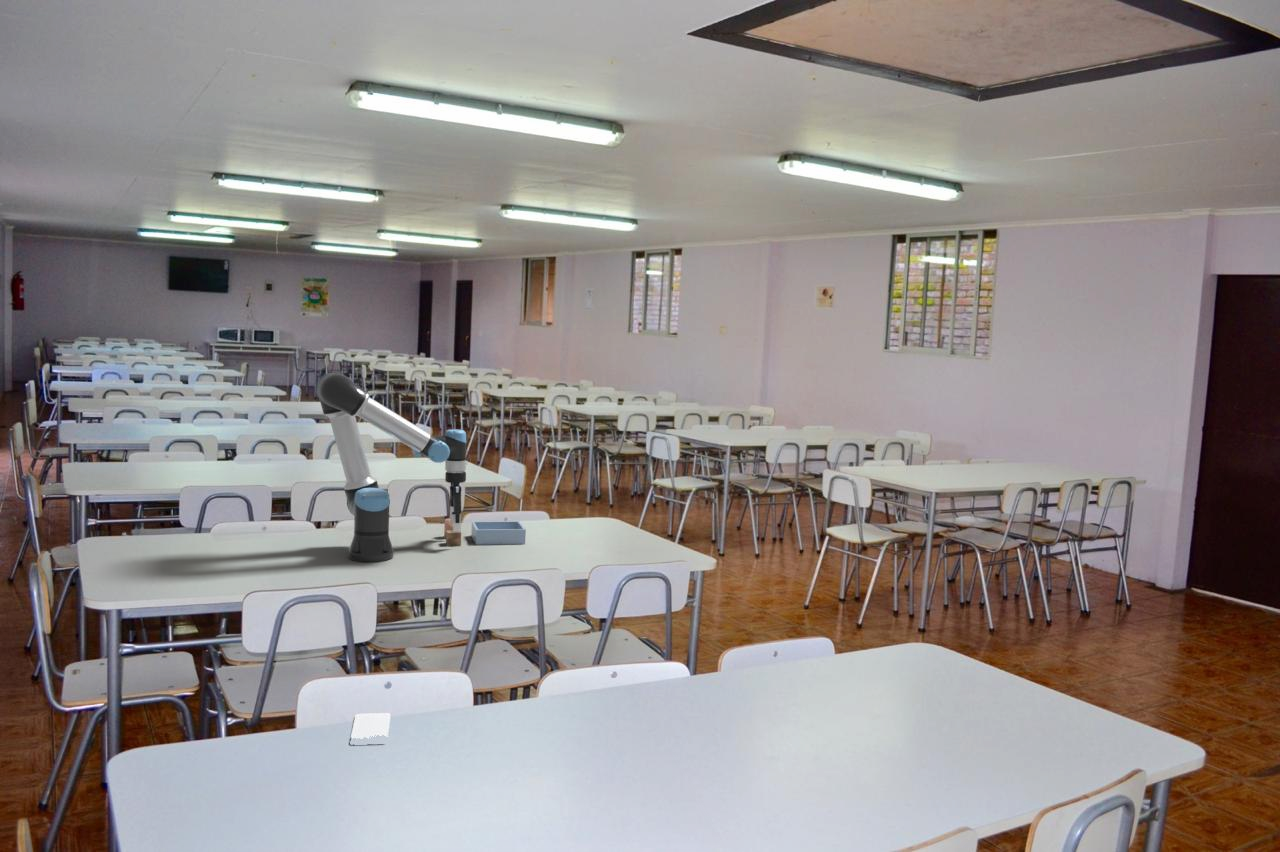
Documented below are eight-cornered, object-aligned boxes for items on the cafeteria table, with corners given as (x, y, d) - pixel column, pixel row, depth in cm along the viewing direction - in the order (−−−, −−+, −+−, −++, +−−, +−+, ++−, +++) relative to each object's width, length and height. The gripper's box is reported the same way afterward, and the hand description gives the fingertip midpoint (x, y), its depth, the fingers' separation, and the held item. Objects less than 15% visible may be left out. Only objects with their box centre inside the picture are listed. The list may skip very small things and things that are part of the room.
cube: (447, 546, 367) (447, 533, 367) (446, 543, 372) (446, 530, 372) (460, 546, 369) (461, 532, 368) (459, 543, 374) (459, 530, 373)
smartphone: (348, 744, 194) (355, 713, 209) (348, 748, 194) (355, 717, 209) (387, 743, 195) (391, 712, 210) (387, 746, 196) (391, 716, 210)
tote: (475, 544, 372) (476, 530, 371) (471, 535, 387) (471, 521, 386) (525, 543, 377) (525, 529, 376) (518, 535, 392) (519, 521, 391)
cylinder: (444, 539, 379) (445, 520, 378) (443, 536, 384) (444, 518, 383) (457, 538, 380) (458, 520, 380) (456, 536, 385) (457, 518, 384)
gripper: (469, 476, 357) (469, 534, 359) (462, 466, 381) (462, 520, 383) (448, 476, 355) (448, 535, 357) (442, 466, 379) (442, 520, 381)
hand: (455, 527), depth 370 cm, fingers open, 13 cm apart
